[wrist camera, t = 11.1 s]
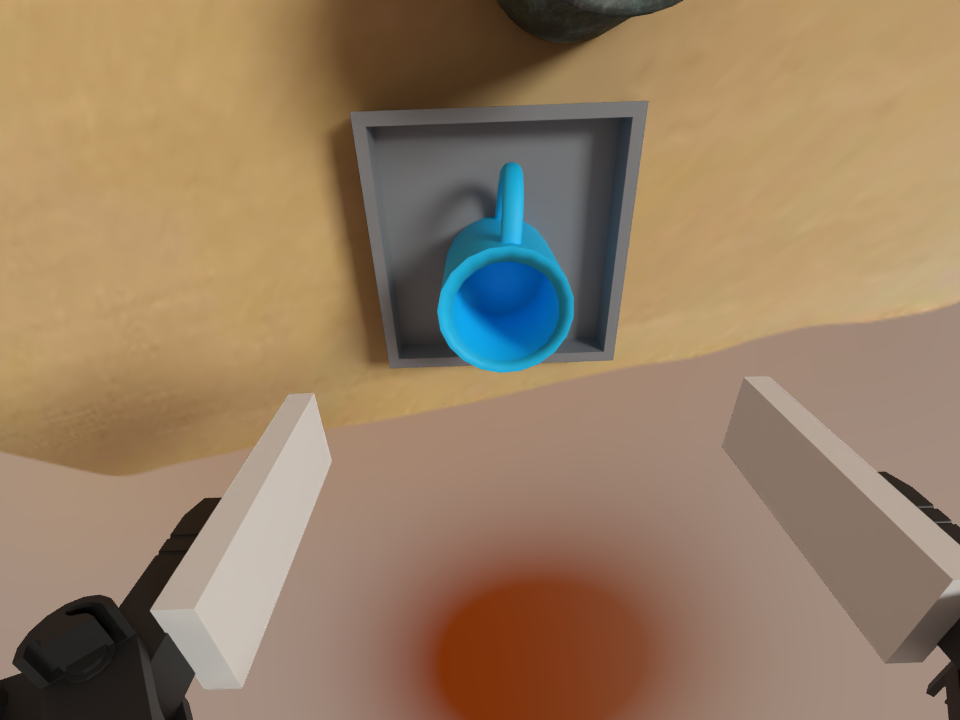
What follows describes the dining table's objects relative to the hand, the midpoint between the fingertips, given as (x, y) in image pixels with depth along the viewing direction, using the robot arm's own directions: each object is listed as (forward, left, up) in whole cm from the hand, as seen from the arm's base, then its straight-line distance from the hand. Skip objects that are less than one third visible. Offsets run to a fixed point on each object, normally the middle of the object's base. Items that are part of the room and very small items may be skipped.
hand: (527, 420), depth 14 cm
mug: (0, 0, -21) cm, 21 cm away
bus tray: (0, 0, -22) cm, 22 cm away
